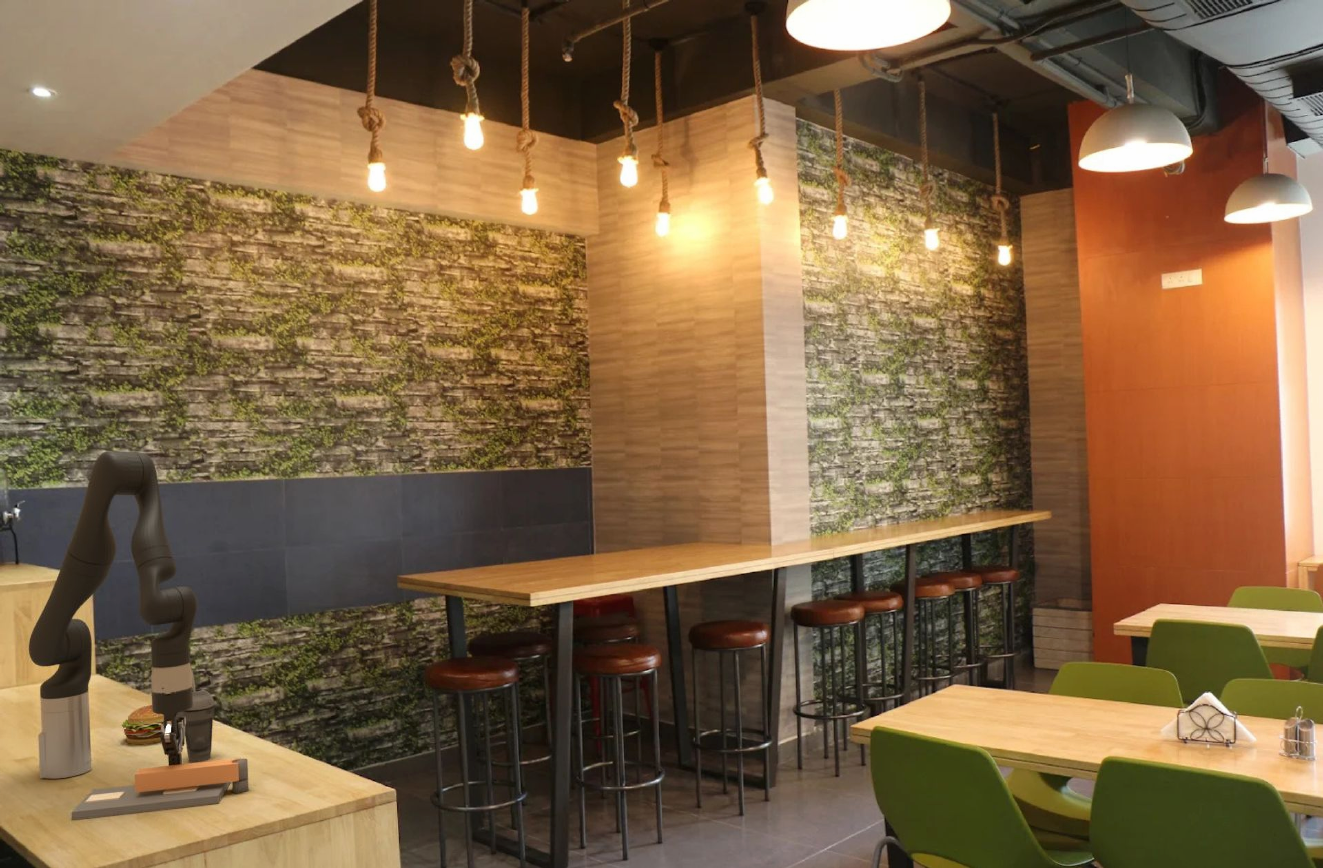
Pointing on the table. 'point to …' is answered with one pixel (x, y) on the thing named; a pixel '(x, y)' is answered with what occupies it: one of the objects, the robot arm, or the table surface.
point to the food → (143, 726)
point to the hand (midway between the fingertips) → (175, 772)
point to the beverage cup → (199, 725)
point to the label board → (151, 799)
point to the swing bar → (191, 774)
